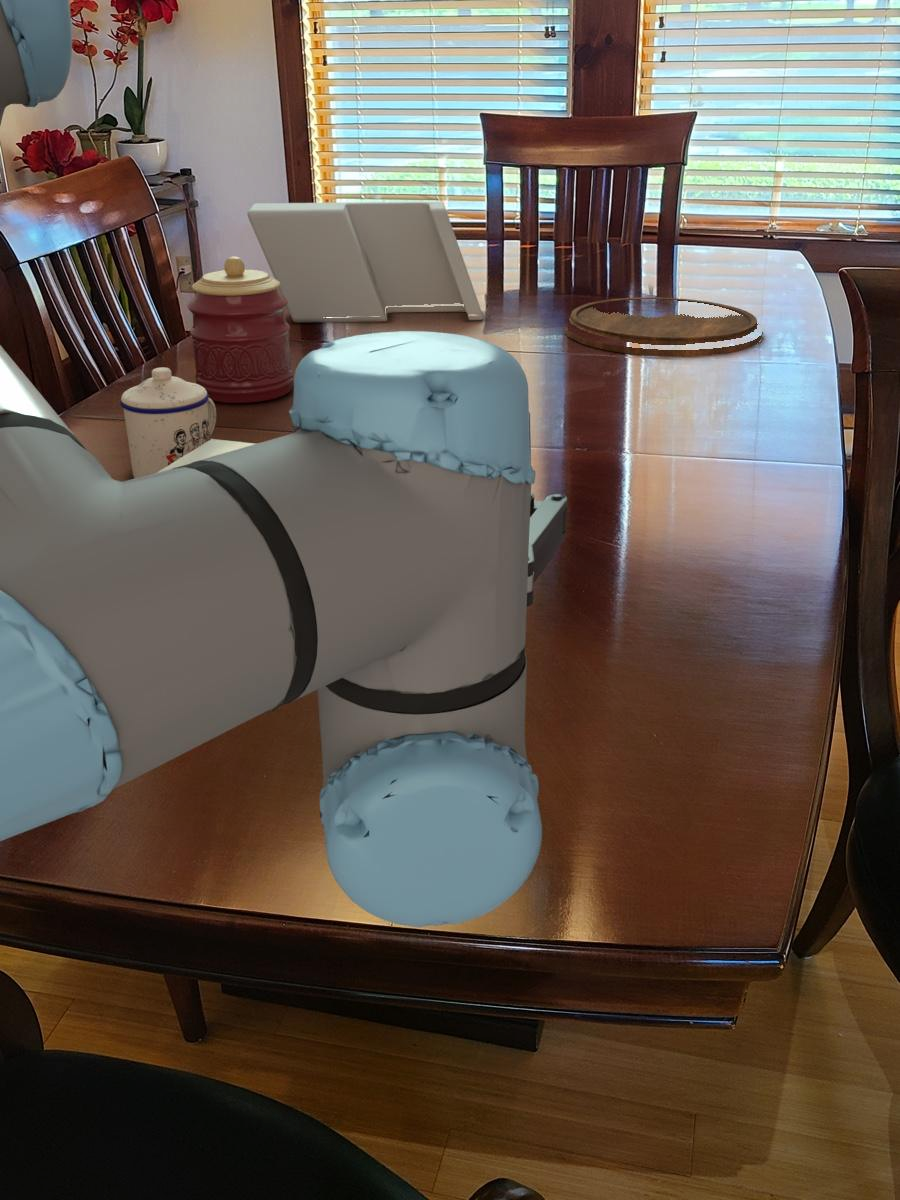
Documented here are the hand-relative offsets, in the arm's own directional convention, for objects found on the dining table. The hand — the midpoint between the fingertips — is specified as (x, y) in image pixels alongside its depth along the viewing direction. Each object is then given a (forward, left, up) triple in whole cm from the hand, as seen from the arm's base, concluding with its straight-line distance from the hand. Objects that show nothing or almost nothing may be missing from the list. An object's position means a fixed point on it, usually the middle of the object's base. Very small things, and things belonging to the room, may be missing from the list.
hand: (383, 477), depth 68 cm
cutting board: (+2, +119, -17) cm, 121 cm away
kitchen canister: (-47, +68, -17) cm, 84 cm away
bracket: (-48, +116, -17) cm, 127 cm away
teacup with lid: (-39, +38, -17) cm, 57 cm away
